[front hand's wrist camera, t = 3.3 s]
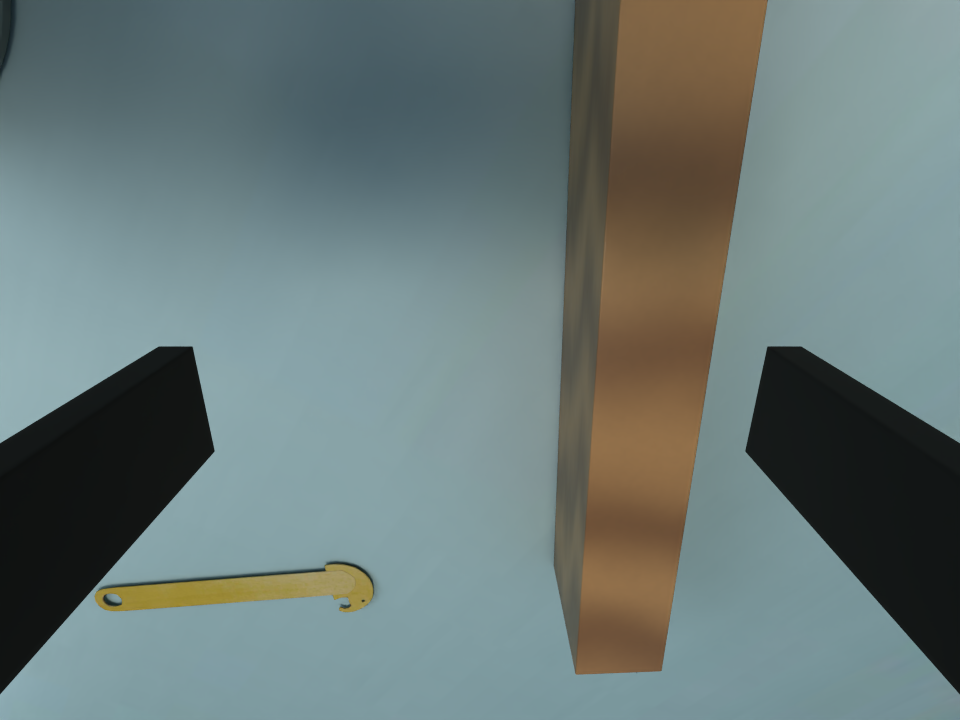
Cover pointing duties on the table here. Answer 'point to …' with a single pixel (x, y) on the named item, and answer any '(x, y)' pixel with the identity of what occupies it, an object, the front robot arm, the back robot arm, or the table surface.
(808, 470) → the front robot arm
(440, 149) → the table surface
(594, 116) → the post
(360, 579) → the bottle opener
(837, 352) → the table surface
